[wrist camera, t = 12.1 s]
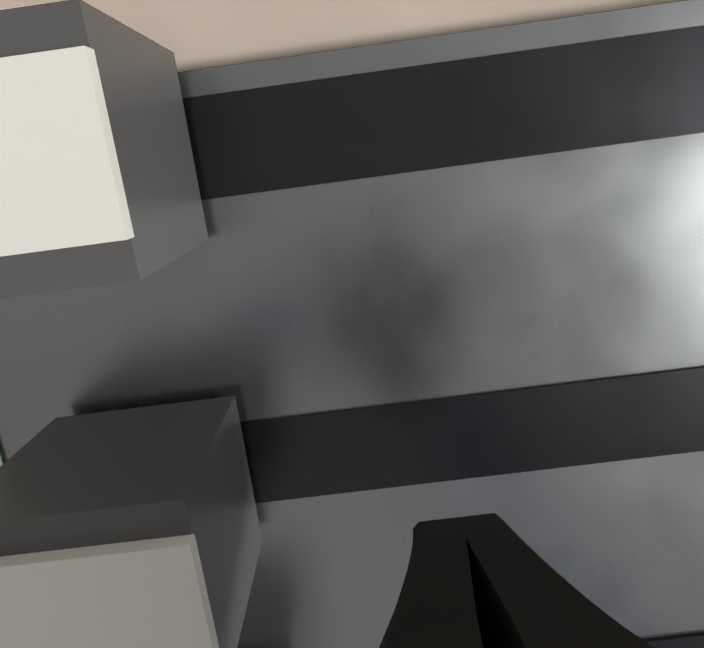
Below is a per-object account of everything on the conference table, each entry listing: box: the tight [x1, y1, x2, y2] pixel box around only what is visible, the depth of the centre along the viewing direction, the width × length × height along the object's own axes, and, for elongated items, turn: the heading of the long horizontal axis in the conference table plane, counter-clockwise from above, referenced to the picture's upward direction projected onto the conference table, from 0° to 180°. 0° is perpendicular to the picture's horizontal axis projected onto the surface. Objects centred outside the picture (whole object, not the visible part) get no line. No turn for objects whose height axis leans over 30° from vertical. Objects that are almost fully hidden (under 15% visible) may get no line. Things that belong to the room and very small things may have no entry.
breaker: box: [0, 0, 209, 299], centre depth 11 cm, size 4×4×5 cm
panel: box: [0, 0, 704, 648], centre depth 16 cm, size 18×24×2 cm
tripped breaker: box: [0, 396, 262, 648], centre depth 12 cm, size 4×4×5 cm
